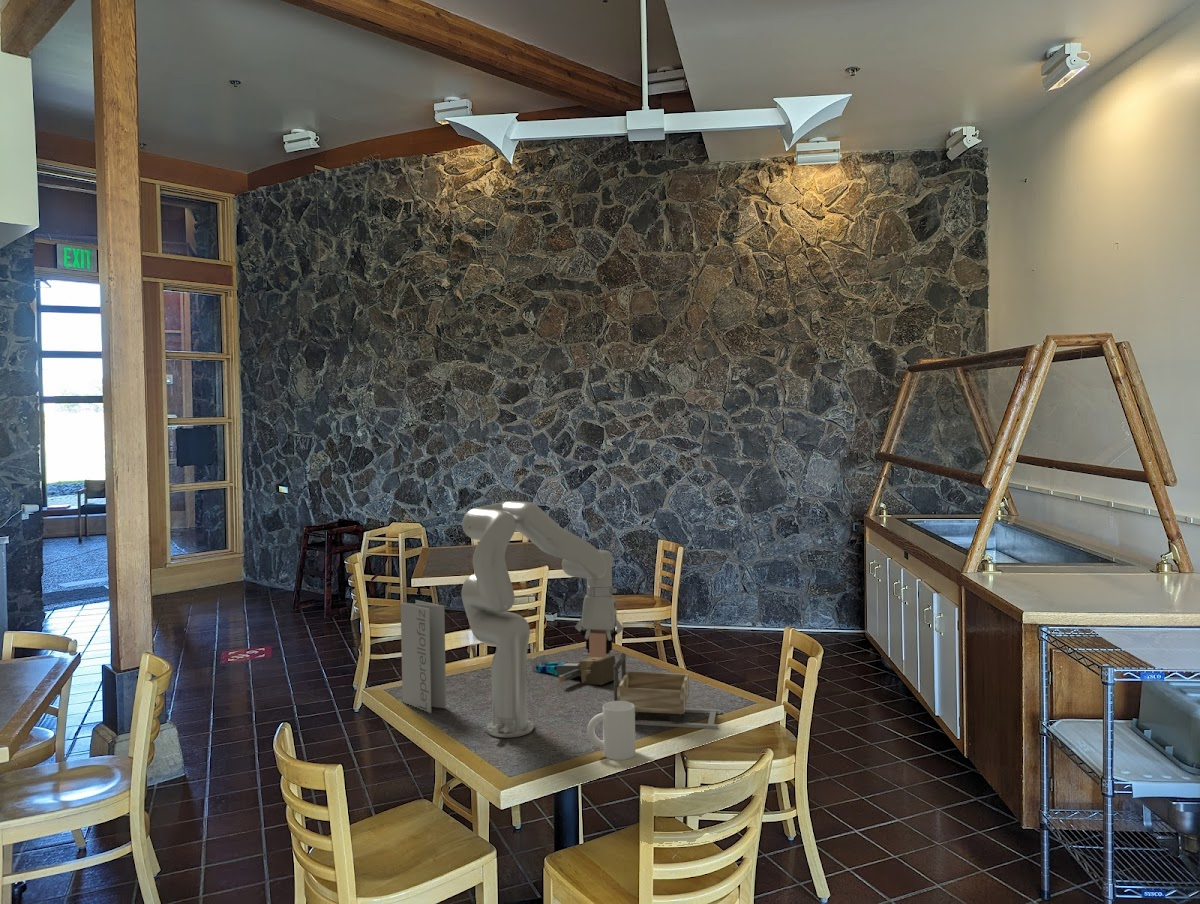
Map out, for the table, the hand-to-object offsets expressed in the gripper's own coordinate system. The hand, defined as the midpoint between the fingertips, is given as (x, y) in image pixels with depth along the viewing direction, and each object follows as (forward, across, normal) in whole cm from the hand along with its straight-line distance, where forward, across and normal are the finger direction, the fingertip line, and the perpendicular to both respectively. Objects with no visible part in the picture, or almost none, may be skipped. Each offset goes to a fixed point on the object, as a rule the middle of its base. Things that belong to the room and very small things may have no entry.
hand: (599, 651), depth 245 cm
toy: (+14, +13, -22) cm, 29 cm away
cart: (+13, -18, +13) cm, 26 cm away
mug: (+15, -12, +41) cm, 45 cm away
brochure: (+15, +50, +14) cm, 54 cm away
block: (+1, 0, 0) cm, 1 cm away
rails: (+14, -24, +13) cm, 30 cm away
